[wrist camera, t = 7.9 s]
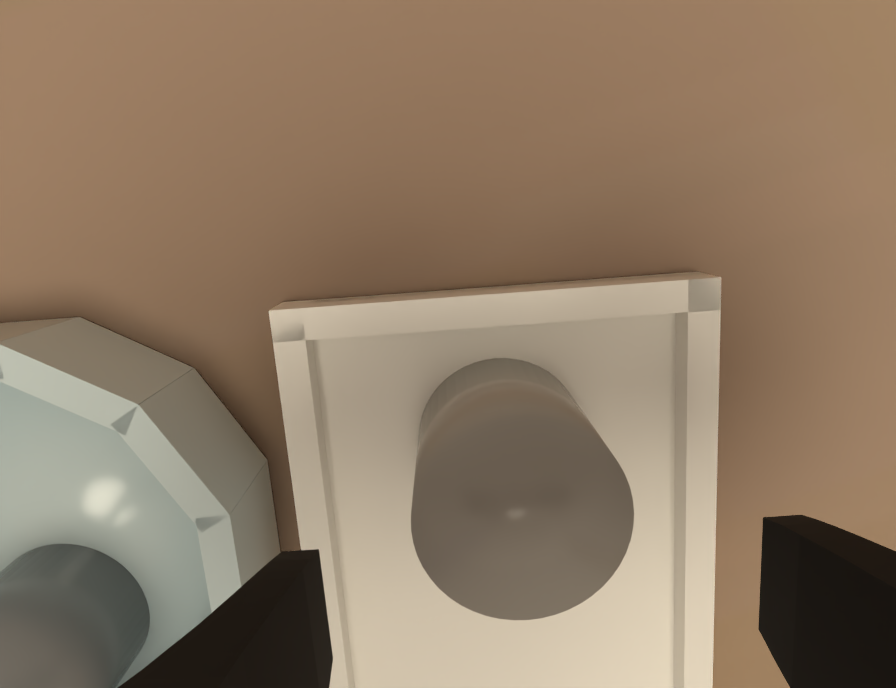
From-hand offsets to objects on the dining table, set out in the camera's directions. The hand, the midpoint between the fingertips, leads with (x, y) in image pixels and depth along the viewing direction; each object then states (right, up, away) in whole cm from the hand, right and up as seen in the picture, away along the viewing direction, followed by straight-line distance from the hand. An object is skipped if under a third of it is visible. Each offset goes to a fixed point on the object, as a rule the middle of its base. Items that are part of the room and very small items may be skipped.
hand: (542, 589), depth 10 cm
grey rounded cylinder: (0, +1, +7) cm, 7 cm away
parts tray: (0, -2, +8) cm, 8 cm away
